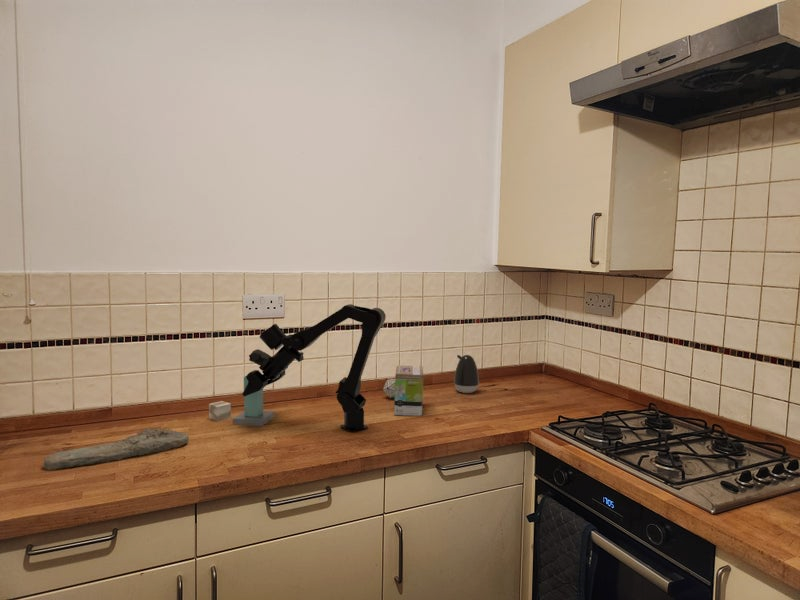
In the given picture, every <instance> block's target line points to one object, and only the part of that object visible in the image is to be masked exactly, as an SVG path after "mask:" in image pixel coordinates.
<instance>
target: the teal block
mask: <svg viewBox="0 0 800 600" xmlns="http://www.w3.org/2000/svg"><path fill="white" fill-rule="evenodd" d="M246 376H247V375H244V376H243V391H244V390H245V388H246V386H247V384H248V380H247V378H246ZM243 402H244V403H243V405H244V406H243V407H244V409H243V412H244V416H249V417H258V416H260V415H261V414H263V411H264V388H263V389H262V390H260V391H257V392H255V393H252V394H250V395H247V396H245V397H244V396H243Z"/></svg>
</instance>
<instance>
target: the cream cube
mask: <svg viewBox="0 0 800 600" xmlns="http://www.w3.org/2000/svg"><path fill="white" fill-rule="evenodd" d="M231 404H232V403H230V402H227V401H224V400H220V401H216V402H211V403H209V404H208V416H209V417H208V418H209V419H210V420H212V419H213V421H215V422H217V421H218V422H221V420H222V421H225V419H226V420H229V419H228V418H230V419H232V408H231V406H232V405H231Z"/></svg>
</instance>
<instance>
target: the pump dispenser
mask: <svg viewBox="0 0 800 600" xmlns="http://www.w3.org/2000/svg"><path fill="white" fill-rule="evenodd" d="M456 357H457V358H458V363H457V365H456V369H455V372H454V377H453V384H454V386H455V387H454V388H456V390H457V392H460V393H461V392H462V393H461V394H473V393H474V392H476V390H477V389H478V387H479V385H480V377H479V371H478V370H479V369H478V366H477V363H476V361H475V359H474V358H473V356H472V355H470V354H464V355H463V356H462V355H460V354H457V356H456Z"/></svg>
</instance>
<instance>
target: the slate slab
mask: <svg viewBox="0 0 800 600" xmlns="http://www.w3.org/2000/svg"><path fill="white" fill-rule="evenodd" d="M275 413H276V412H275V411H273V410H271V411H270V410H263V414H261V415H260V416H258V417H249V416H244V411H243V412H241V413H239V414H238V415H236V416H235V417H233V418H232V424H233V425H237V424H241V425H240V426H250V425H252V427H263V426H264V424H265V425H266V424H268V423H269V422H270V421H271V420H273V419H274V418H275V417H276V416H275V415H276V414H275ZM273 417H274V418H273ZM272 418H273V419H272ZM269 420H270V421H269ZM268 421H269V422H268Z"/></svg>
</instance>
